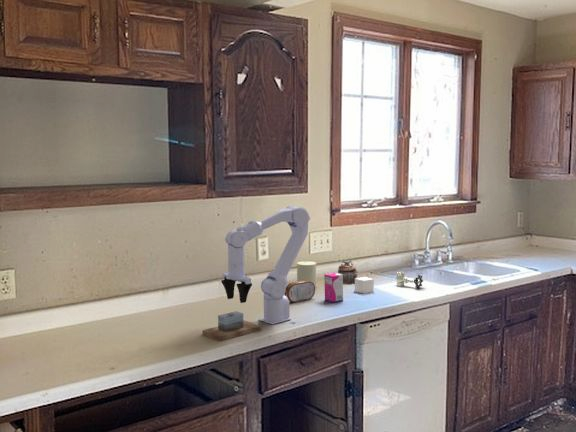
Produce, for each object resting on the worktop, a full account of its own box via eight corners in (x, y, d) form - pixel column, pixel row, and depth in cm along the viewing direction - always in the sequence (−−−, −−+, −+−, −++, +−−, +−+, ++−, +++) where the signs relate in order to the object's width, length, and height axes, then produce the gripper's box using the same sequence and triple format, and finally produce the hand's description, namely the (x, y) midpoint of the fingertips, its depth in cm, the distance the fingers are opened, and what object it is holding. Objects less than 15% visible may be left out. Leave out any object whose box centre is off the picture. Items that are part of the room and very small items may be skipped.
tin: (312, 297, 255) (311, 278, 254) (316, 298, 252) (316, 279, 251) (284, 302, 246) (283, 283, 245) (288, 304, 243) (288, 284, 243)
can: (314, 284, 279) (314, 260, 277) (318, 289, 270) (318, 263, 268) (295, 285, 277) (295, 260, 276) (298, 290, 268) (298, 264, 267)
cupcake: (338, 283, 280) (339, 263, 279) (337, 279, 290) (337, 259, 289) (358, 283, 280) (359, 263, 279) (356, 279, 290) (356, 259, 289)
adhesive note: (373, 292, 264) (373, 279, 263) (363, 294, 260) (363, 280, 260) (364, 289, 269) (365, 276, 268) (354, 291, 265) (354, 278, 265)
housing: (218, 329, 204) (218, 315, 203) (236, 324, 209) (236, 311, 208) (225, 331, 201) (224, 317, 200) (243, 327, 206) (243, 313, 205)
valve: (393, 286, 274) (416, 290, 267) (393, 272, 274) (416, 275, 266) (399, 284, 280) (422, 287, 272) (400, 270, 279) (423, 273, 271)
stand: (243, 324, 215) (243, 320, 215) (260, 330, 208) (260, 325, 207) (202, 334, 203) (202, 330, 203) (219, 341, 196) (219, 336, 195)
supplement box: (334, 298, 252) (334, 272, 251) (343, 301, 247) (343, 274, 246) (324, 300, 249) (324, 273, 248) (332, 303, 244) (332, 276, 243)
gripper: (215, 262, 213) (216, 298, 215) (239, 267, 203) (240, 306, 204) (231, 259, 218) (231, 295, 219) (255, 265, 207) (255, 302, 209)
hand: (236, 300), depth 212 cm, fingers open, 7 cm apart
